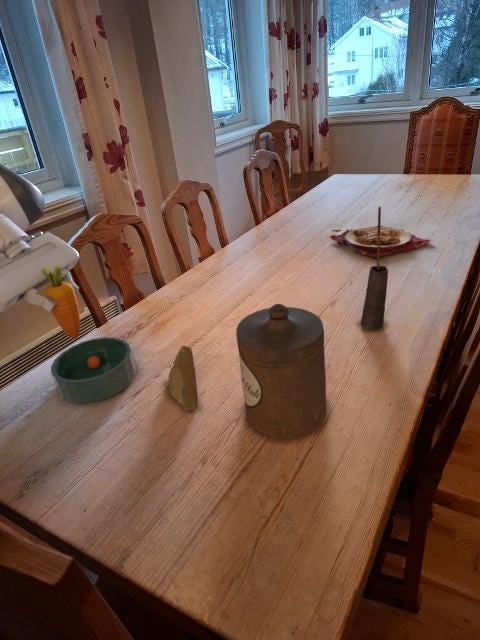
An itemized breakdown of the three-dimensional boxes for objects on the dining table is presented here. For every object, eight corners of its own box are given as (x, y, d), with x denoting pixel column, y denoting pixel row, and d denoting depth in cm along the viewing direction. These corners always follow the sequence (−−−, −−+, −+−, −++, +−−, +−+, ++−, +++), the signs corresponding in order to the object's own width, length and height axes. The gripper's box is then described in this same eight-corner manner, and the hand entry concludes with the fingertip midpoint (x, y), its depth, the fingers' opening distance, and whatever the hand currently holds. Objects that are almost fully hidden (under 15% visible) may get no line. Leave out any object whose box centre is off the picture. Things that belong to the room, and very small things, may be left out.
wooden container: (249, 385, 87) (238, 288, 77) (323, 384, 85) (322, 284, 74) (242, 439, 75) (227, 331, 64) (328, 439, 72) (328, 328, 62)
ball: (89, 373, 96) (86, 362, 95) (88, 366, 99) (84, 355, 97) (103, 369, 97) (99, 358, 96) (101, 362, 100) (98, 351, 98)
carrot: (58, 339, 82) (31, 266, 75) (83, 329, 85) (59, 258, 77) (67, 349, 78) (40, 273, 71) (93, 338, 81) (69, 264, 74)
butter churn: (398, 338, 97) (409, 216, 83) (354, 337, 99) (358, 218, 85) (393, 317, 104) (403, 203, 91) (353, 317, 107) (356, 205, 93)
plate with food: (376, 262, 135) (377, 251, 133) (328, 239, 155) (328, 230, 154) (432, 245, 143) (434, 235, 142) (379, 226, 164) (380, 217, 162)
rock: (209, 404, 80) (216, 366, 88) (174, 378, 77) (185, 342, 85) (171, 426, 85) (181, 389, 93) (138, 403, 82) (151, 367, 90)
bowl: (61, 415, 85) (52, 392, 82) (58, 372, 99) (50, 351, 96) (143, 388, 90) (137, 365, 87) (129, 351, 104) (123, 330, 101)
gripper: (38, 239, 86) (92, 285, 87) (-50, 282, 69) (18, 339, 71) (49, 217, 82) (105, 266, 84) (-42, 257, 66) (30, 317, 67)
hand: (65, 300), depth 77 cm, fingers closed on carrot, 5 cm apart
